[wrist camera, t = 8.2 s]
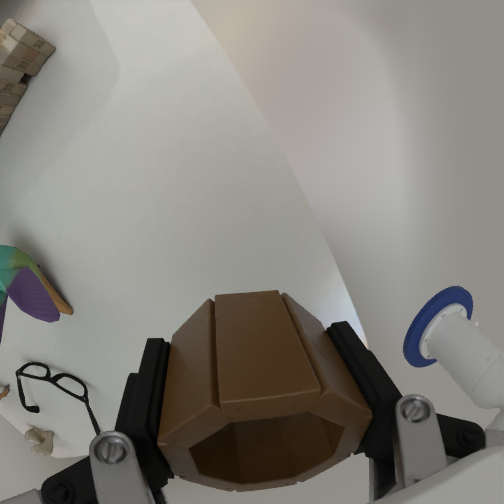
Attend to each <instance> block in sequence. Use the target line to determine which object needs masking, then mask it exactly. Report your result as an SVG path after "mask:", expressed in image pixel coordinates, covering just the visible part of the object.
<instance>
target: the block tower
mask: <svg viewBox="0 0 504 504" xmlns="http://www.w3.org/2000/svg"><path fill="white" fill-rule="evenodd" d="M55 49H56V47H54V46H53V45H51V44H50V43H49V42H47V41H46V40H44V39H43V38H41V37H40V36H39V35H37V34H35V33H34V32H32V31H31V30H29V29H27V28H26V27H24V26H22V25H21V24H19V23H17V22H15V21H14V20H12V19H8V20H7V21H6V22H5V24H4V25H3V27H0V134H1V133H2V131H3V129H4V126H5V125H6V124H7V122H8V120H9V118H10V116H9V115H11V114H12V112H13V111H14V109H15V107H16V105H17V104H18V102H19V101H20V99H21V96H22V95H23V94H24V92H25V90H26V89H27V86H26V85H25V84H24V83H23V82H22V81H21V80H20V79H21V78H22V76H23V75H24V73H26V74H29V75H31V76H36V74H37V73H38V72H39V70H40V69H41V66H42V65H43V64H44V62H45V61H46V60H47V58H48V57H49V56H50V55H51V54H52V53H53V52H54V51H55Z"/></svg>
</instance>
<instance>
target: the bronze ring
mask: <svg viewBox="0 0 504 504" xmlns="http://www.w3.org/2000/svg"><path fill="white" fill-rule="evenodd" d="M170 346H171V348H170V354H169V360H168V366H167V373H166V380H165V387H164V394H163V402H162V410H161V418H160V426H159V436H158V437H157V446H158V447H159V449H160V451H161V453H162V455H163V456H164V458H165V460H166V462H167V463H168V465H169V467H170V468H171V470H172V472H173V473H174V475H176V476H179V477H180V478H181V479H183V480H187V481H190V482H194V483H198V484H201V485H204V486H208V487H212V488H216V489H221V490H225V491H230V492H231V491H234V490H236V491H237V492H244V491H254V490H263V489H270V488H277V487H283V486H289V485H295V484H296V483H297V481H299V482H304V481H306V480H308V479H310V478H312V477H314V476H316V475H318V474H319V473H321V472H323V471H325V470H327V469H329V468H331V467H332V466H334V465H336V464H338V463H339V462H341V461H343V460H344V459H346V458H348V457H349V456H350V455H351V453H354V452H356V450H357V448H358V446H359V444H360V442H361V441H362V439H363V437H364V435H365V433H366V431H367V429H368V426H369V424H370V422H371V420H372V418H373V415H372V412H371V409H370V407H369V406H368V404H367V402H366V400H365V398H364V397H363V395H362V393H361V391H360V389H359V388H358V386H357V384H356V382H355V381H354V379H353V377H352V375H351V374H350V372H349V370H348V368H347V367H346V365H345V363H344V361H343V360H342V358H341V356H340V354H339V353H338V351H337V349H336V347H335V346H334V344H333V342H332V340H331V339H330V337H329V335H328V334H327V332H326V330H325V328H324V327H323V325H322V323H321V322H320V321H319V320H318V319H316V318H315V317H314V316H313V315H312V314H310V313H309V312H308V311H307V310H305V309H304V308H303V307H302V306H301V305H299V304H298V303H297V302H296V301H295V300H293V299H292V298H291V297H290V296H289V295H287V294H286V293H282V294H281V295H280V294H279V291H278V290H273V291H261V292H249V293H236V294H222V295H215V302H214V301H213V300H211V299H207V300H206V302H205V303H204V304H203V305H202V306H201V307H200V308H199V309H198V310H197V311H196V312H195V313H194V314H193V315H192V316H191V317H190V318H189V319H188V320H187V321H186V322H185V323H184V324H183V325H182V326H181V327H180V328H179V329H178V330H177V331H176V332H175V333H174V334H173V336H172V341H171V344H170Z"/></svg>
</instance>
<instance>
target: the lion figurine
mask: <svg viewBox="0 0 504 504" xmlns="http://www.w3.org/2000/svg"><path fill="white" fill-rule="evenodd" d="M9 387H10V386H9V385H7V386H6V387H5V389H4V391H3V392H2V393H1V394H0V399H1V398H3V397H6V396H7V394H8V393H9V389H8V388H9Z"/></svg>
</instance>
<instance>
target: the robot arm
mask: <svg viewBox="0 0 504 504" xmlns="http://www.w3.org/2000/svg"><path fill="white" fill-rule="evenodd" d="M477 326H478V322H477V321H473V322H471V321H470V320H468V319H467V312H466V309H465V308H464V307H463V306H462V305H461V304H459V303H453V304H450V305H448V306H446V307H444V308H443V309H442V310H440V311H439V312H438V313H437V314H436V315H435V316H434V317H433V318H432V320H431V321H430V322H429V324H428V325H427V327H426V328H425V330H424V332H423V334H422V336H421V339H420V343H419V351H420V354H421V355H422V356H423V357H424V358H425V359H434V358H435V359H436V360H437V361H438V362H439V363H440V364H441V365H442V366H443V367H444V369H445V370H446V371H447V372H448V373H449V374H450V375H451V377H452V378H453V379H454V380H455V381H456V382H457V384H458V385H459V386H460V387H461V388H462V389H463V391H464V392H465V393H466V394H467V395H468V396H469V398H470V399H471V400H472V401H473V403H474V404H475V405H477V406H478V407H480V408H485V409H487V408H500V412H499V414H498V415H497V416H496V417H495V419H494V420H493V421H492V422H491V423H490V424H489V425H488V426H487V427H486V428H485V429H484V430H483V429H482V428H481V427H480V426H479V425H478V424H476V423H474V422H470V421H465V420H461V419H457V418H453V417H449V416H445V415H441V414H437V413H435V409H434V406H433V404H432V403H431V402H430V401H429V400H428V399H427V398H425V397H424V396H420V395H416V394H410V395H406V396H404V397H403V396H402V395H401V393H400V392H399V390H398V389H397V387H396V386H395V384H394V383H393V381H392V380H391V379H390V377H389V376H388V374H387V373H386V371H385V370H384V368H383V367H382V366H381V364H380V363H379V362H378V360H377V359H376V357H375V356H374V354H373V353H372V352H371V351H370V350H367V349H366V347H365V346H364V344H363V343H362V341H361V340H360V339H359V337H358V336H357V334H356V333H355V331H354V330H353V329H352V327H351V326H350V324H349V323H348V322H347V321H342V322H336V323H332V324H331V326H330V327H328V328H327V330H326V332H327V334H328V335H329V337H330V339H331V340H332V342H333V344H334V346H335V347H336V349H337V351H338V353H339V354H340V356H341V358H342V360H343V361H344V363H345V365H346V367H347V368H348V370H349V372H350V374H351V375H352V377H353V379H354V381H355V382H356V384H357V386H358V388H359V389H360V391H361V393H362V395H363V397H364V398H365V400H366V402H367V404H368V406H369V407H370V409H371V412H372V415H373V418H372V420H371V422H370V424H369V426H368V429H367V431H366V433H365V435H364V437H363V439H362V441H361V442H360V444H359V446H358V448H357V450H356V452H354V455H356V454H359V453H363V452H364V453H365V455H366V457H368V458H369V503H368V504H504V352H502V351H501V350H500V349H499V348H498V347H497V346H496V345H495V344H494V343H493V342H492V341H491V340H489V339H488V338H487V337H486V336H485V335H484V334H482V332H480V331H479V330H478V329H477V328H476V327H477ZM170 348H171V346H170V343H169V342H165V341H164V339H163V338H148V339H147V342H146V346H145V350H144V353H143V357H142V361H141V364H140V368H139V372H138V373H130V374H129V376H128V379H127V383H126V386H125V390H124V393H123V397H122V401H121V405H120V409H119V413H118V417H117V421H116V425H115V429H114V431H106V432H103V433H100V434H99V435H97V436H96V437H95V438H94V439H93V440H92V442H91V444H90V446H89V456H87V457H86V458H84V459H82V460H80V461H79V462H77V463H75V464H73V465H71V466H70V467H68V468H66V469H64V470H62V471H60V472H59V473H56V474H55V475H53V476H51V477H49V478H48V479H46V480H45V481H44V483H43V484H42V487H41V490H37V489H33V490H30V491H28V492H25V493H22V494H20V495H17V496H14V497H12V498H9V499H6V500H3V501H1V502H0V504H169V503H168V500H167V498H166V495H165V493H164V490H163V488H162V487H164V486H165V485H166V484H168V478H172V479H174V473H173V472H172V470H171V468H170V467H169V465H168V463H167V462H166V460H165V458H164V456H163V455H162V453H161V451H160V449H159V447H158V446H157V437H158V436H159V426H160V418H161V410H162V402H163V394H164V387H165V380H166V373H167V366H168V360H169V354H170Z"/></svg>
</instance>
